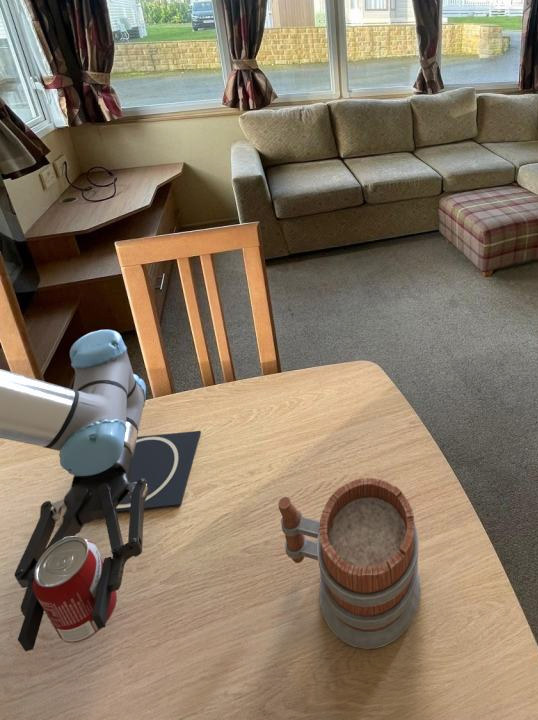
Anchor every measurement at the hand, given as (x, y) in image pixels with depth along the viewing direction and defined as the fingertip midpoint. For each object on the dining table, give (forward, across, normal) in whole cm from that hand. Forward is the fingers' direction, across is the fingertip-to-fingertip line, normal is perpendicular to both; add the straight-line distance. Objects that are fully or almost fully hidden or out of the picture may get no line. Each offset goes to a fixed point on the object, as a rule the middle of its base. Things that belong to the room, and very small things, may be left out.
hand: (62, 632), depth 55 cm
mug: (0, -34, -9) cm, 35 cm away
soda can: (-5, 0, -7) cm, 8 cm away
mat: (-27, -2, -9) cm, 29 cm away
